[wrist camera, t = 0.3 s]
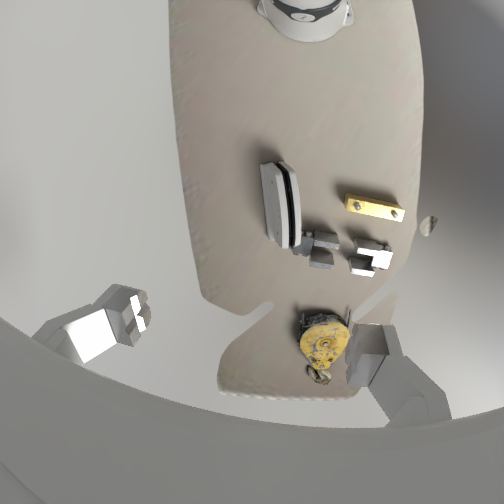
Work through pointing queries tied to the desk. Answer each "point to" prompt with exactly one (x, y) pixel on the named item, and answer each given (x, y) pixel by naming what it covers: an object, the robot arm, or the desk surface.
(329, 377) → the pulley block
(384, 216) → the brass block with peg
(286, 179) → the grey half-round block
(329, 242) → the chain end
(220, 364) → the desk surface
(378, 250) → the chain end
